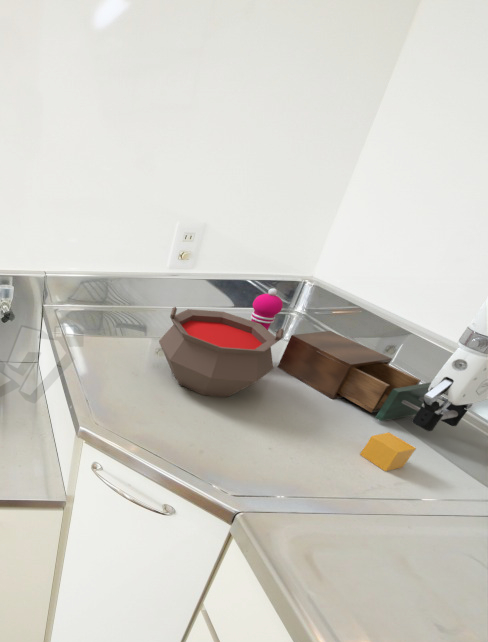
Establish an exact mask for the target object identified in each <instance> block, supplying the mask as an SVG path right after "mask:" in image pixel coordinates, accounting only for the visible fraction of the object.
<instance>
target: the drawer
mask: <svg viewBox="0 0 488 642" xmlns="http://www.w3.org/2000/svg"><path fill="white" fill-rule="evenodd" d="M421 381H422V379H420V378H418V377H416V376H413V375H411V374H409V373H407V372H405V371H403V370H401V369H398V368H396V367H394V366H391V365H390V364H389V365H388V364H385V363H378V364H371V365H364V366H357V367H352V368H351V370H350V372H349V374H348V375H347V377H346V379H345V381H344V383H343V385H342V386H341V388H340V390H339V392H338V394H340V395H341V396H343V398H345V399H347V400H348V401H350V402H351V403H353V404H356V405H357V406H359V407H361V408H362V409H364V410H366V411H367V412H369V413H376V415H375V417H374V418H375V420H377V421H379V422H383V421H389V420H393V419H395V420H396V419H400V418H404V417H405V418H406V417H409V416H416V414H417V413H418V411H419V410H420V408H421V407H422V406H421V405H422V404H423V403H424V395H425V394H426V393H428V392H429V391H428V388H429V386H430V384H431V383H432V381H430V382H425V383H421ZM441 414H442V415H443V416H442V418H441V419H440V421H441V420H444V419H449V418H454V417H457V416H458V412H457V411H454V410H450V411H449V410H447V409H445V410H444V411H443V412H442V413H441Z"/></svg>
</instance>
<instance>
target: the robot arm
mask: <svg viewBox="0 0 488 642" xmlns="http://www.w3.org/2000/svg"><path fill="white" fill-rule="evenodd" d="M456 344H457V345H458V347H457V348H456V349H455V351H454V352H453V354H451V355H450V357H449V358H448V359H447V360H446V362H445V363H444V364H443V366H442V367H441V368H440V370H439V371H438V372H437V374H436V375H435V377H434V378H433V380H432V381H431V382H432V383H431V382H430V383H431V384H430V386H429V388H428V391H429V392H428V393H426V394H425V395H424V403H423V404H422V405H421V406H422V407H421V408H420V410H419V411H418V413H417V414H415V415H414V417H413V419H411V423H412V424H414V425H416V426H418V427H419V428H421V429H423V430H425V431H427V432H433V431H434V429H435V428H436V426H437V425H438V424H439V422H443V423H445V424H446V425H448V426H451V427H457V425H458V424H459V422H460V421H461V420H462V419H463V417H464V416H465V415H466V413H467V412H468V410H470V408H472V407H473V405H474V404H475V403H479V402H480V403H481V402H484V401H487V400H488V296H487V297H486V298H485V300H484V302H483V303H482V304H481V306H480V308H479V309H478V310H477V312H476V313H475V315H474V317H473V318H472V320H471V321H470V323H469V324H468V326H467V327H466V329H465V330H464V331H463V333H462V335H461V336H460V337H459V339H458V340H457V342H456ZM442 395H445V396H447V398H446V397H444V396H442ZM438 399H439V400H441V402H442V401H443V402H442V403H441V404H440V402H439V401H438ZM445 409H447V410H449V411H450V410H454V411H457V412H458V416H457V417H454V418H449V419H444V420H440V419H441V418H442V416H443V415H442V414H441V413H442V412H443V411H444V410H445Z"/></svg>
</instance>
